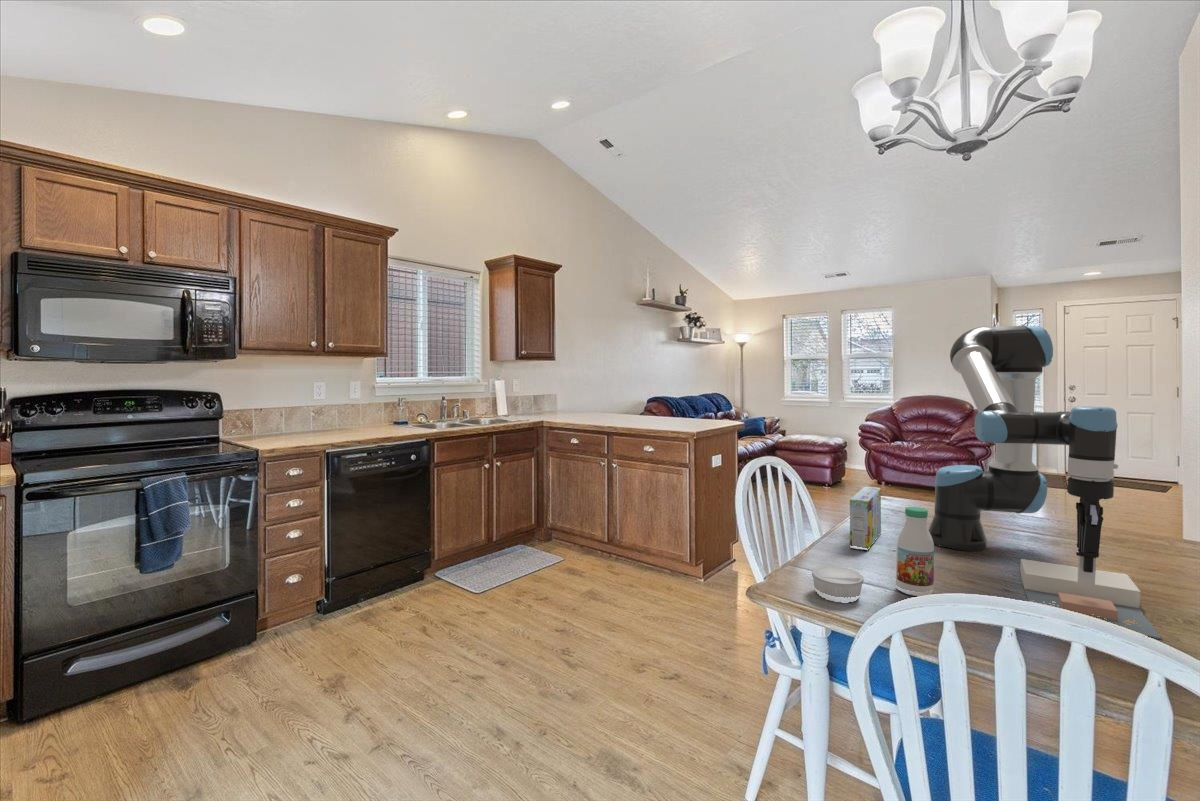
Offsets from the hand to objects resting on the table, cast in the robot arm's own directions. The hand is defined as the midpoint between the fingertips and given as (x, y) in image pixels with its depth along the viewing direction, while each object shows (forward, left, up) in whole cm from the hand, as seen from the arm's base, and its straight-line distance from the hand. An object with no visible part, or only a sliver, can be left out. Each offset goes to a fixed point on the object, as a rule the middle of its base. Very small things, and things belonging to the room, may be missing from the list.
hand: (1085, 584), depth 121 cm
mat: (0, -2, -5) cm, 6 cm away
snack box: (-47, +27, -6) cm, 55 cm away
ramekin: (-47, -21, -6) cm, 52 cm away
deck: (0, +12, -5) cm, 13 cm away
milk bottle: (-32, -9, -6) cm, 34 cm away
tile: (0, -1, -3) cm, 3 cm away
